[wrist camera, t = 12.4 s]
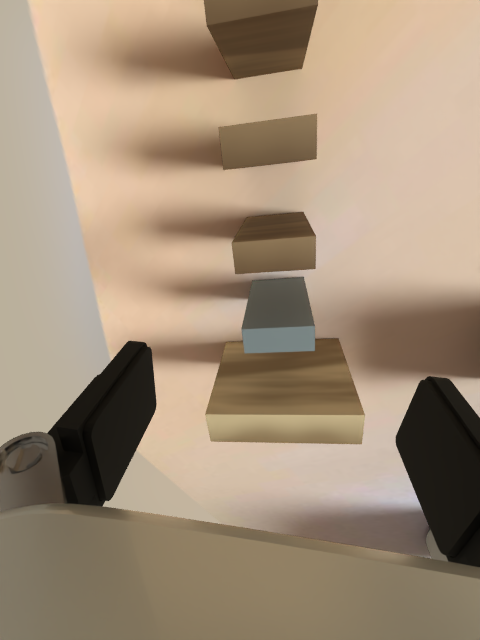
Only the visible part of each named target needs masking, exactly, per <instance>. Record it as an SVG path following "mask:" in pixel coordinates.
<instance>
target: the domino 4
mask: <svg viewBox="0 0 480 640" xmlns="http://www.w3.org/2000/svg"><path fill="white" fill-rule="evenodd" d="M242 337H243V345H244V353H271V352H300V351H315V325H314V320H313V316H312V311H311V307H310V303H309V298H308V294H307V289H306V285H305V281H304V277H298V278H284V279H270V280H256V281H252V285H251V289H250V294H249V298H248V303H247V307H246V312H245V316H244V321H243V325H242Z"/></svg>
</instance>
